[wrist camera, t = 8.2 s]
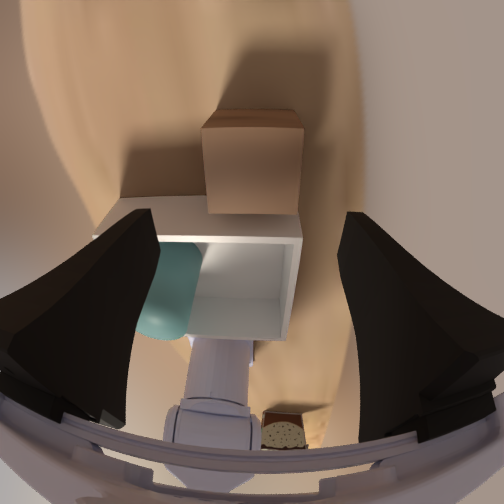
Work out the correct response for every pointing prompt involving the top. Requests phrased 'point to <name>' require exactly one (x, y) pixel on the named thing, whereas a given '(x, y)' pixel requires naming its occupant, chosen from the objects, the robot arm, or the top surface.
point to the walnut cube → (252, 161)
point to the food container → (282, 431)
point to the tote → (229, 264)
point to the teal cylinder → (171, 292)
